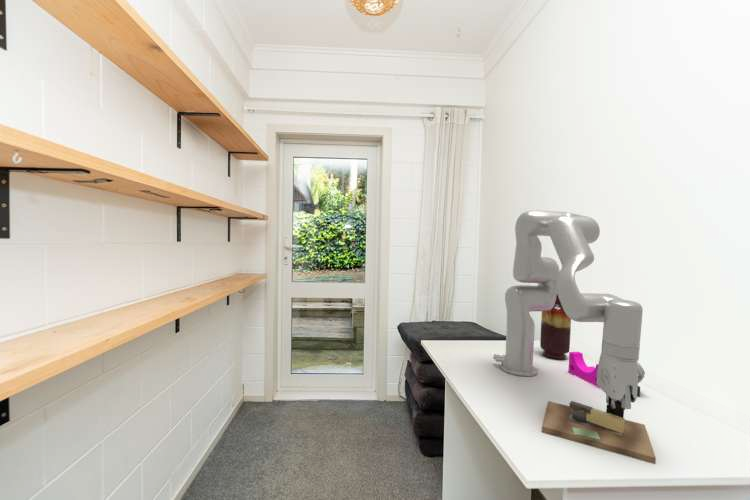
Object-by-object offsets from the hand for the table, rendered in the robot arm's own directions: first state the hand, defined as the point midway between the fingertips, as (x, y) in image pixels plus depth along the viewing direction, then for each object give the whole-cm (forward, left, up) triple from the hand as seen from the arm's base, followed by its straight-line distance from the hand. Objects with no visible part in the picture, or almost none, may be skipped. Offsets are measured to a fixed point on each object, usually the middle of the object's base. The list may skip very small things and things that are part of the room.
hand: (614, 421), depth 86 cm
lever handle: (-7, -1, -1) cm, 7 cm away
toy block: (-4, +39, -4) cm, 39 cm away
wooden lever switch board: (-4, -2, -3) cm, 6 cm away
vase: (-17, +60, -3) cm, 62 cm away
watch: (+6, +33, -3) cm, 33 cm away
